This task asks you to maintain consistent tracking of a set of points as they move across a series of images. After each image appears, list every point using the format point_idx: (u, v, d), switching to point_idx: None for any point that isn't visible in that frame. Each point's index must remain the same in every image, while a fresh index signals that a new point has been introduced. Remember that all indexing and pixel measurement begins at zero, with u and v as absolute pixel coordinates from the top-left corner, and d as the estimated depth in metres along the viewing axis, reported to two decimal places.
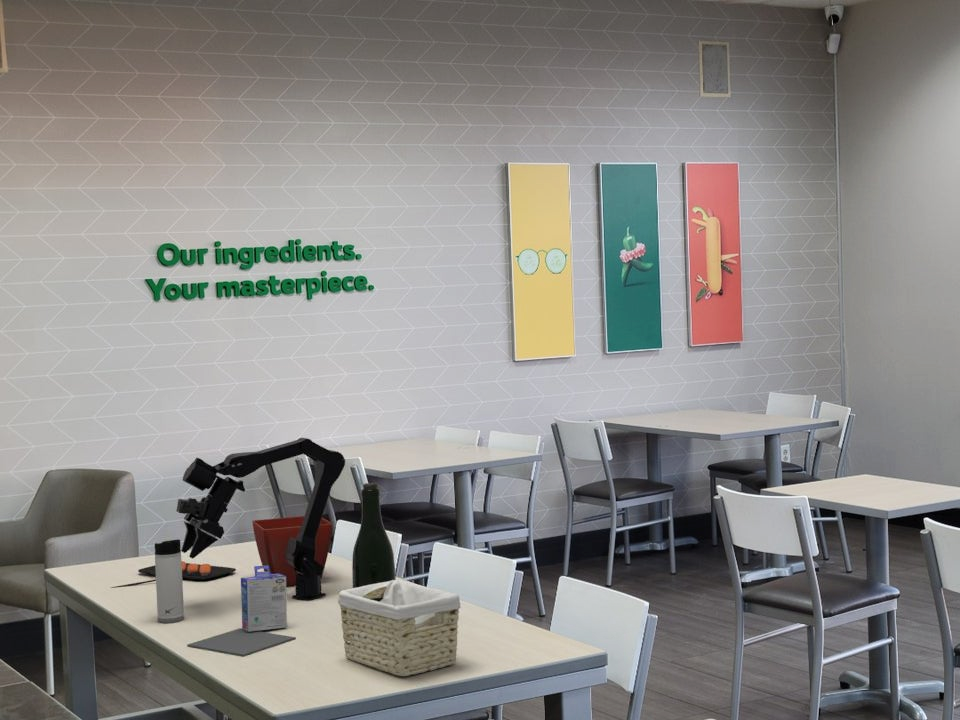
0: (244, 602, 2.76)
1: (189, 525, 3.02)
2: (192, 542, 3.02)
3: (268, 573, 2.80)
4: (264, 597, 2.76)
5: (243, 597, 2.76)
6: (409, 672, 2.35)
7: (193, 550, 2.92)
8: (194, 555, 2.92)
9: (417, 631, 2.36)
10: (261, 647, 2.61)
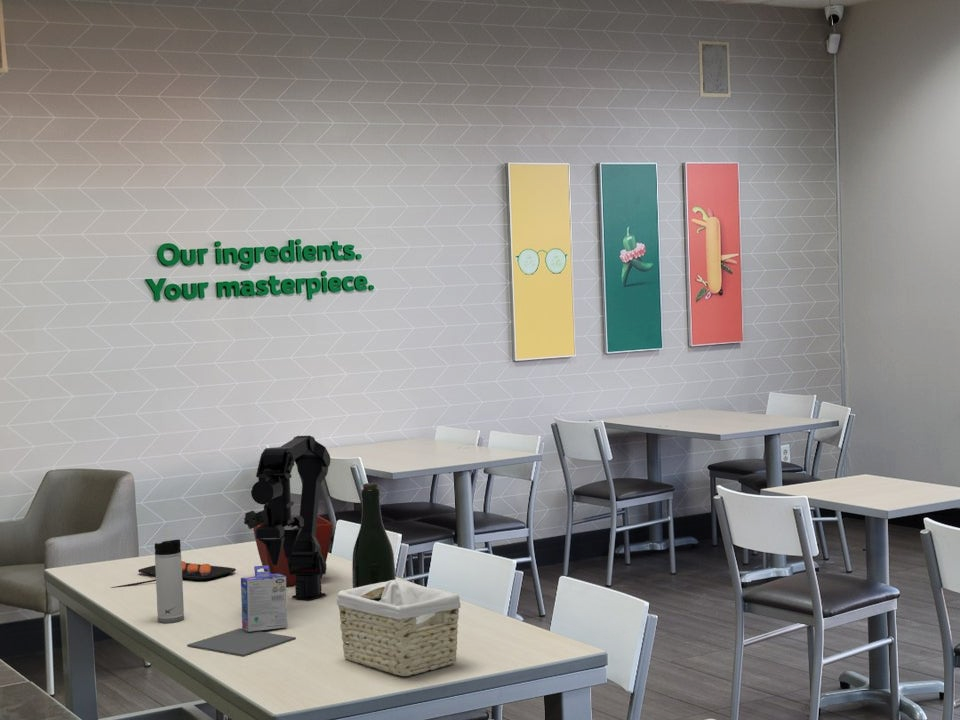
0: (244, 602, 2.76)
1: None
2: (290, 545, 2.98)
3: (268, 573, 2.80)
4: (264, 597, 2.76)
5: (243, 597, 2.76)
6: (410, 672, 2.35)
7: (271, 557, 2.88)
8: (275, 561, 2.88)
9: (418, 631, 2.37)
10: (261, 647, 2.61)
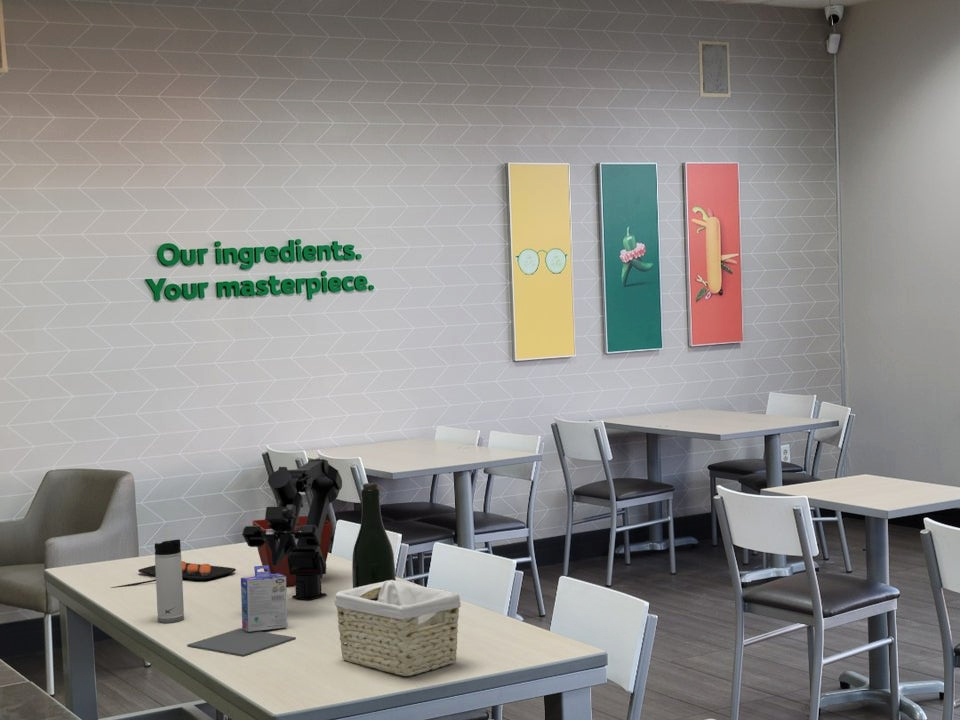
0: (244, 602, 2.76)
1: (275, 538, 2.90)
2: None
3: (268, 573, 2.80)
4: (264, 597, 2.76)
5: (243, 597, 2.76)
6: (412, 672, 2.36)
7: (279, 557, 2.87)
8: (278, 562, 2.87)
9: (420, 630, 2.37)
10: (261, 647, 2.61)
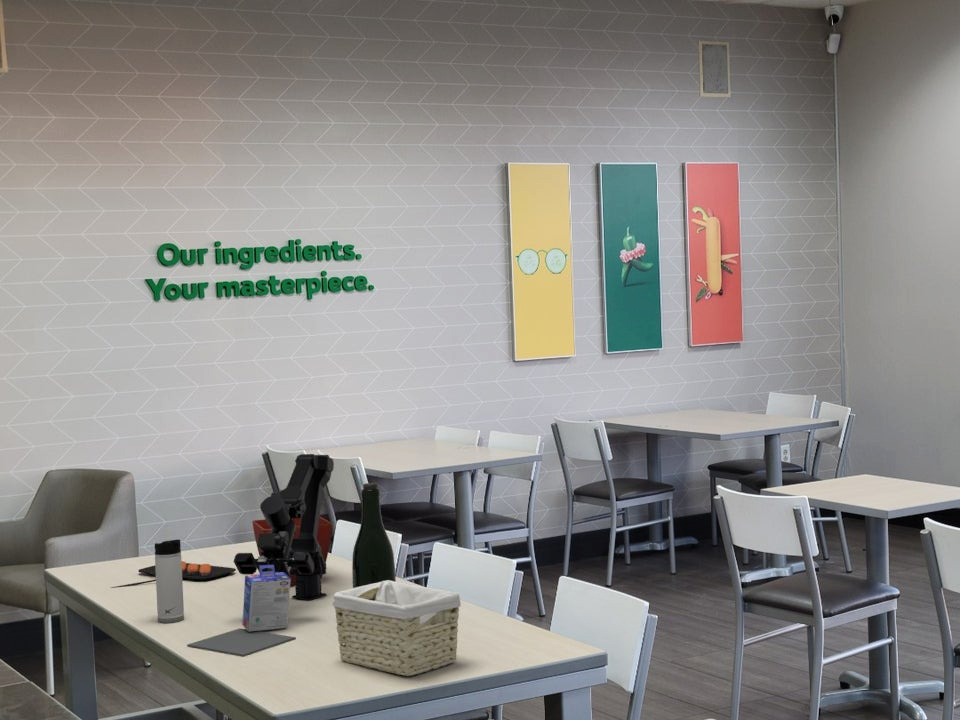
0: (246, 601, 2.75)
1: None
2: None
3: (273, 573, 2.77)
4: (267, 598, 2.75)
5: (246, 596, 2.75)
6: (414, 671, 2.36)
7: None
8: None
9: (421, 630, 2.37)
10: (261, 647, 2.61)
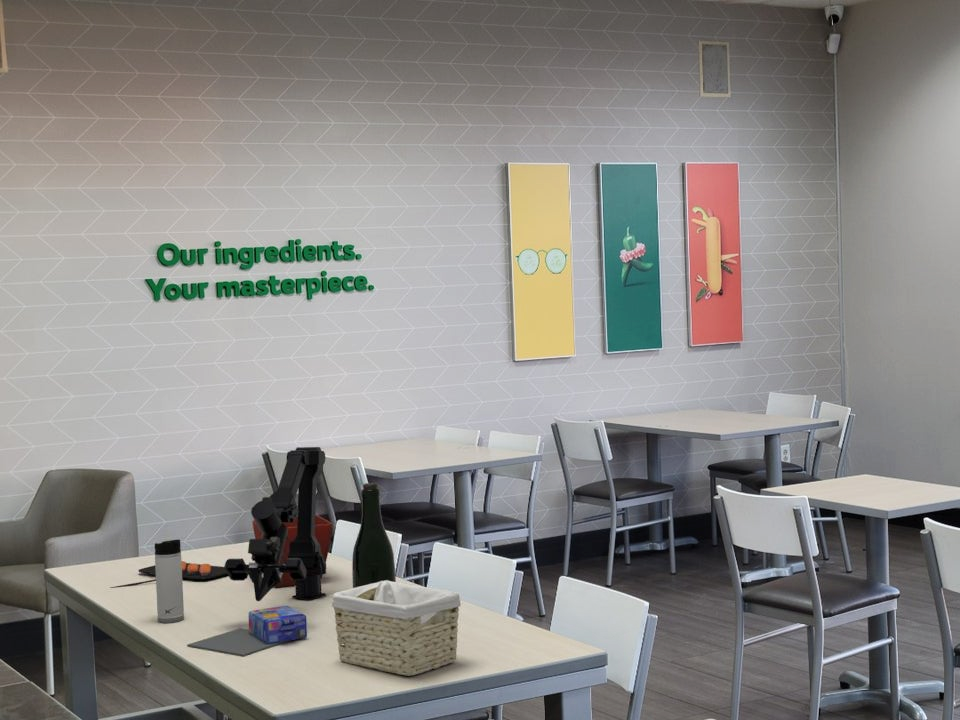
0: (257, 629, 2.68)
1: (258, 571, 2.78)
2: None
3: (293, 627, 2.65)
4: None
5: (259, 628, 2.67)
6: (415, 671, 2.36)
7: (262, 592, 2.75)
8: (261, 597, 2.76)
9: (422, 630, 2.37)
10: (261, 647, 2.61)
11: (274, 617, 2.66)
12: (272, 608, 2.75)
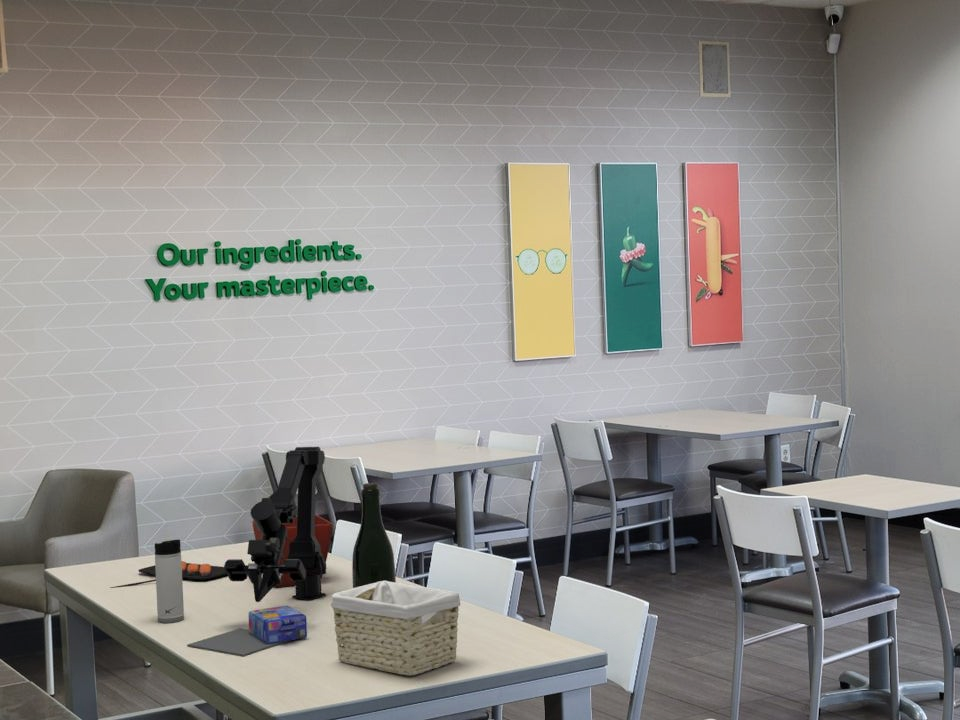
0: (257, 629, 2.68)
1: (258, 572, 2.78)
2: None
3: (293, 627, 2.65)
4: None
5: (259, 628, 2.67)
6: (416, 671, 2.36)
7: (261, 593, 2.75)
8: (261, 598, 2.75)
9: (423, 630, 2.37)
10: (261, 647, 2.61)
11: (274, 617, 2.66)
12: (272, 608, 2.75)
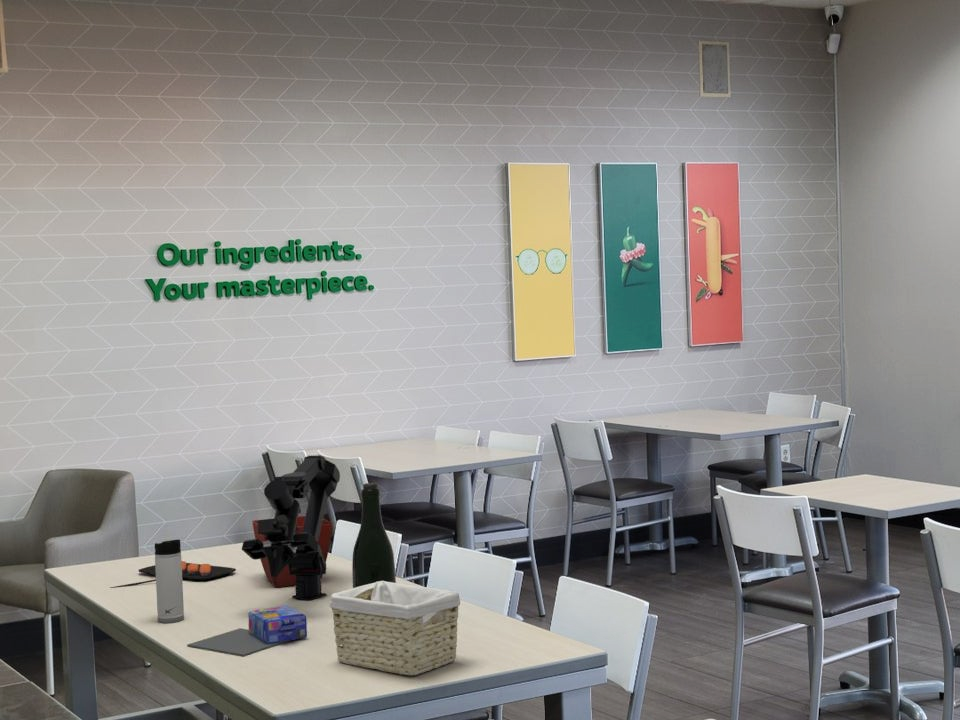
0: (257, 629, 2.68)
1: (272, 549, 2.89)
2: None
3: (293, 627, 2.65)
4: None
5: (259, 628, 2.67)
6: (418, 671, 2.36)
7: (277, 568, 2.86)
8: (277, 574, 2.87)
9: (424, 630, 2.37)
10: (261, 647, 2.61)
11: (274, 617, 2.66)
12: (272, 608, 2.75)
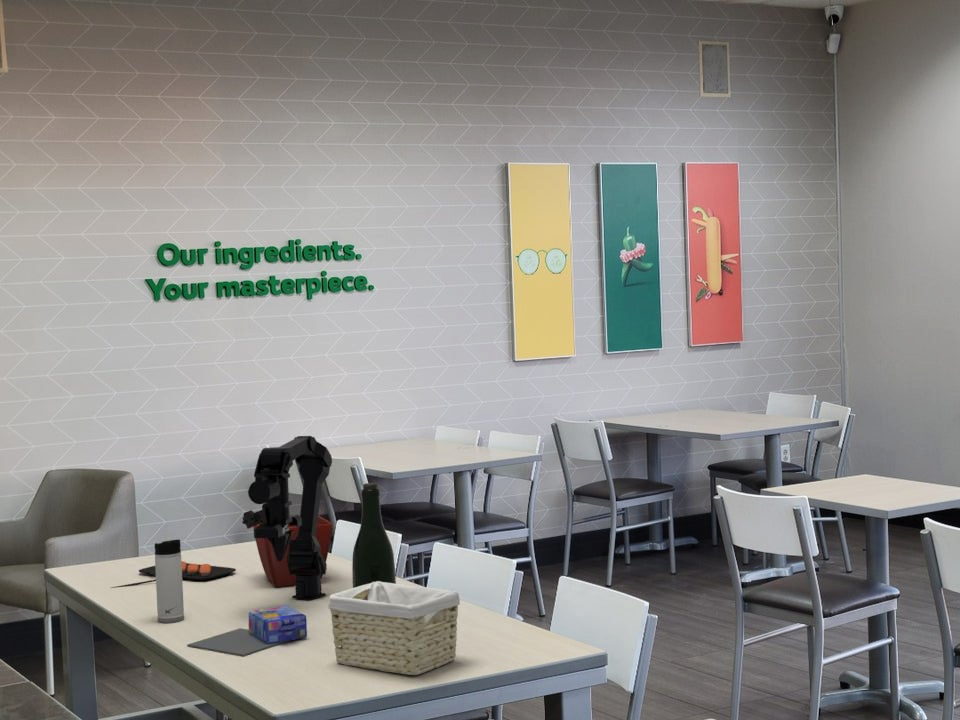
0: (257, 629, 2.68)
1: None
2: None
3: (293, 627, 2.65)
4: None
5: (259, 628, 2.67)
6: (420, 670, 2.36)
7: (276, 554, 2.93)
8: (280, 557, 2.93)
9: (426, 629, 2.38)
10: (261, 647, 2.61)
11: (274, 617, 2.66)
12: (272, 608, 2.75)
